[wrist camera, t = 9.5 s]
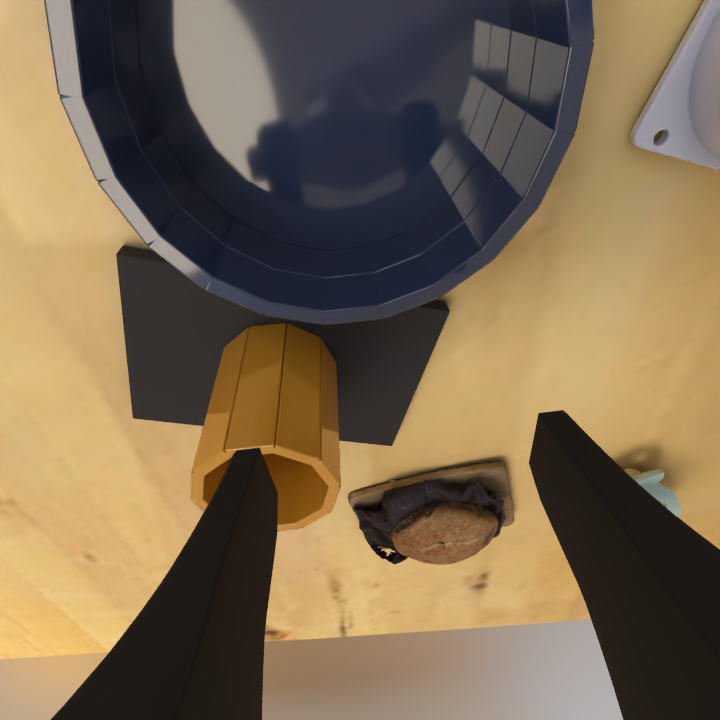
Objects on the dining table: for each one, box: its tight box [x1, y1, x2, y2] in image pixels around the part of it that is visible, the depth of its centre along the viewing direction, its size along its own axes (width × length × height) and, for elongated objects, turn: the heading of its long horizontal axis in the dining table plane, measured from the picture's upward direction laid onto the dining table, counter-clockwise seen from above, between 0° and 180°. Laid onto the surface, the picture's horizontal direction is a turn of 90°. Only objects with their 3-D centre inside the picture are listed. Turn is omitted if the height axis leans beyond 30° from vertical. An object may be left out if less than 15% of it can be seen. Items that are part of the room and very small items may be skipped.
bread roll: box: [348, 461, 514, 564], centre depth 31 cm, size 11×8×4 cm
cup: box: [191, 323, 341, 531], centre depth 20 cm, size 5×6×7 cm
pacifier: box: [623, 469, 680, 517], centre depth 30 cm, size 7×6×6 cm
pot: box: [44, 0, 594, 325], centre depth 13 cm, size 13×13×5 cm
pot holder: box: [117, 246, 449, 446], centre depth 23 cm, size 14×10×1 cm
